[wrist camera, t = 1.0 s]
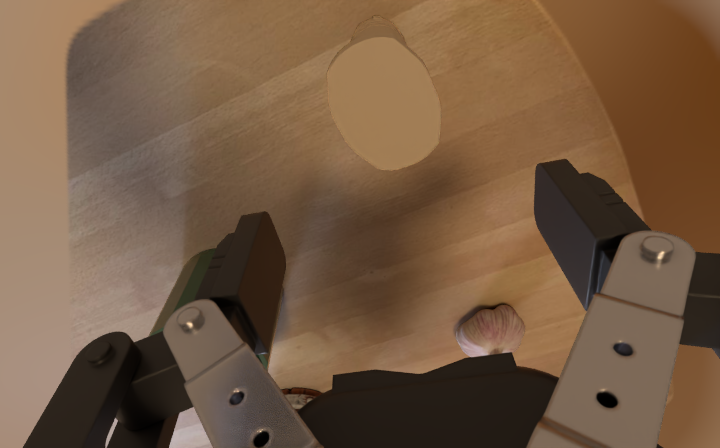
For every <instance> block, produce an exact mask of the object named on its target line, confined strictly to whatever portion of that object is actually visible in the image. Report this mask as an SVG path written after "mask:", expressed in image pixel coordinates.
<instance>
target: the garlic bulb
mask: <svg viewBox="0 0 720 448" xmlns="http://www.w3.org/2000/svg"><path fill="white" fill-rule="evenodd" d="M524 333H525V325H524V322H523V320H522V319H521V318H520V317H519V316H518V315H517V313H516V311H515V310H514V309H513V308H512V307H510V306H508V305H500V306H498V307H497V308H496V309H494V310H489V309H484V310H481V311H479V312H477V313H476V314H475V315H474V316H473V317H472V318H471V319H469V320H467V321H466V322H465V323H463V324H462V325H460V326H459V328H458V329H457V332H456V339H457V342H458V343H459V345H460V346H461V348H462V350H463V352H464V353H465V354H467V355H469V356H470V357H477V356H485V355H492V354H500V353H508V352H515V351H516V350H517V349H518V348H519V346H520V344H521V339H522V338H523V336H524Z"/></svg>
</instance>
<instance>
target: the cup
mask: <svg viewBox="0 0 720 448" xmlns="http://www.w3.org/2000/svg"><path fill="white" fill-rule="evenodd" d="M215 250H216V248H215V249H210V250H206V251H203V252H200V253H199V254H197V255H195V256H193V257H192V258H191V259H190V260H189V261H188V262H187V263H186V264H185V266H184V268H183V270H182V272H181V273H180V275H179V277H178V279H177V281H176V283H175V285H174V287H173V289H172V291H171V293H170V295H169V297H168V299H167V301H166V303H165V305H164V307H163V308H162V310H161V312H160V314H159V316H158V318H157V320H156V322H155V324H154V326H153V328H152V330H151V332H150V334H149V336H152V335H154V334H157V333H159V332H162V331H163V329H164V325H165V323H166V321H167V320H168V318H169V317H170V316H171V315H172V314H173V313H174V312H175V311H176V310H177V309H179V308H180V307H182V306H183V305H185V304H187V303H190V302H192V301H194V299H195V296H196V294H197V292H198V289H199V287H200V285H201V282H202V280H203V278H204V275H205V273H206V271H207V270H208V266H209V264H210V262H211V260H213V258H212V257H213V255H214V252H215ZM282 296H283V286H282V289H281V294H280V299H279V304H278V308H277V313H276V318H275V323H274V328H273V333H272V337H271V342H270V347H269V352H268V354H260V355H256V356H257V358H258V359H259V360H260V362H261V363H262V365H263V366H264V367H265V369H266V370H267V371H268V368H269V363H270V358H271V353H272V348H273V343H274V338H275V333H276V328H277V323H278V319H279V314H280V309H281V303H282ZM149 336H148V337H149Z"/></svg>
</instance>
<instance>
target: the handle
mask: <svg viewBox="0 0 720 448" xmlns="http://www.w3.org/2000/svg"><path fill="white" fill-rule="evenodd" d="M327 84H328V99H329V107H330V112H331V115H332V117H333V120H334V122H335V124H336V126H337V127H338V129H339V131H340V133H341V134H342V136H343V138H344V140H345V141H346V143H347V144H348V145H349V147H350V148H351V149H352V150H353V151H354V152H355V153H356V154H357V155H359V156H360V157H361V158H363V159H364V160H366V161H367V162H369V163H370V164H371V165H373V166H374V167H376V168H377V169H380V170H397V169H402V168H405V167H408V166H411V165H413V164H415V163H417V162H419V161H421V160H422V159H424V158H425V157H426V156H428V155H429V154H430V153H431V152H432V151H433V150H434V149H435V147H436V146H437V145H438V143H439V137H440V128H441V104H440V100H439V97H438V95H437V92H436V90H435V87H434V85H433V82H432V80H431V77H430V75H429V73H428V70H427V68H426V66H425V64H424V62H423V61H422V60H421V59H420V58H419V57H418V56H417V55H416V53H414V52H413V51H412V50H411V49H410V48H409V47H408V46H407V44H406V42H405V39H404V37H403V35H402V34H401V32H400V31H399V30H398V28H397V27H396V26H395V25H394V24H393V23H391V22H390V21H388V20H386V19H383V18H381V16H379V15H374V16H373V17H372V18H371V19H368V20H366V21H364V22H363V23H360V24H359V25H358V26H357V28H356V30H355V32H354V34H353V36H352V39H351V41H350V43H349V44H347V45H346V46H344V47H343V48H342V49H341V50H340V51H339V52H338V53H337V54H336V56H335V57H334V59H333V60H332V62H331V64H330V66H329V68H328V71H327Z"/></svg>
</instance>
